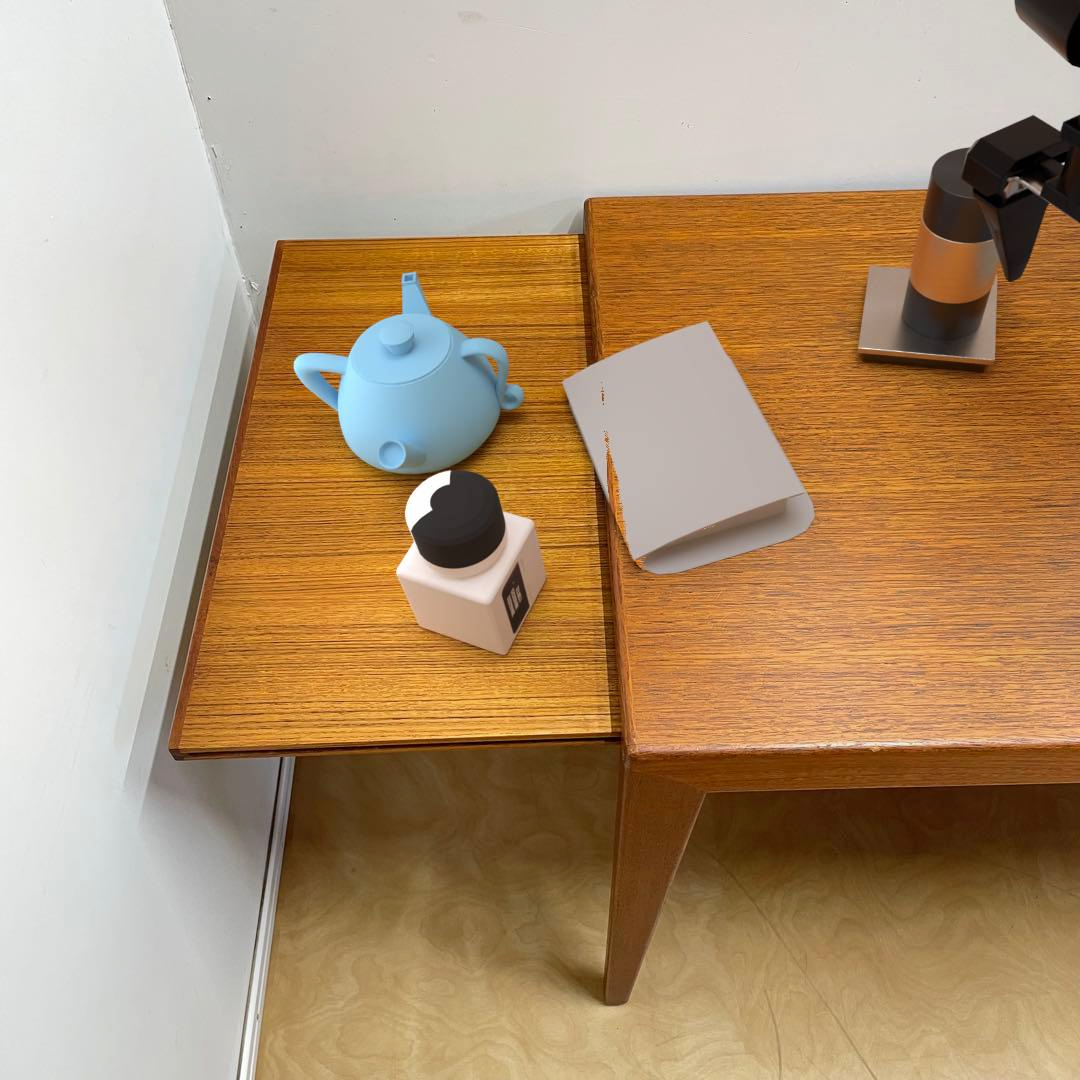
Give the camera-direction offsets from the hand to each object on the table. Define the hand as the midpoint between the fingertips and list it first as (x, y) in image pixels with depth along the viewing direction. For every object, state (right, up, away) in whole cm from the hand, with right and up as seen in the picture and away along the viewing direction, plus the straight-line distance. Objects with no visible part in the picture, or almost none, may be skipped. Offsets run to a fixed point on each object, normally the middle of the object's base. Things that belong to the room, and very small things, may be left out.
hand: (1060, 314), depth 70 cm
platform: (-2, +3, +19) cm, 19 cm away
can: (-1, +4, +17) cm, 17 cm away
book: (-24, -9, +14) cm, 30 cm away
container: (-41, -21, +8) cm, 47 cm away
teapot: (-47, -6, +20) cm, 51 cm away
